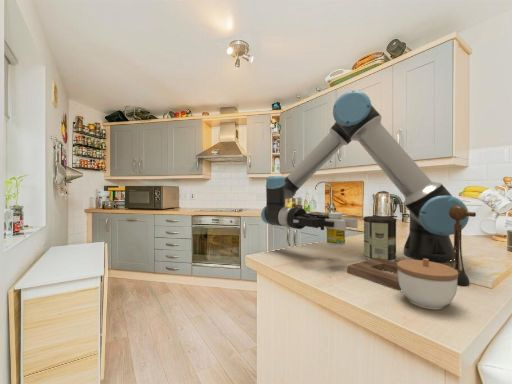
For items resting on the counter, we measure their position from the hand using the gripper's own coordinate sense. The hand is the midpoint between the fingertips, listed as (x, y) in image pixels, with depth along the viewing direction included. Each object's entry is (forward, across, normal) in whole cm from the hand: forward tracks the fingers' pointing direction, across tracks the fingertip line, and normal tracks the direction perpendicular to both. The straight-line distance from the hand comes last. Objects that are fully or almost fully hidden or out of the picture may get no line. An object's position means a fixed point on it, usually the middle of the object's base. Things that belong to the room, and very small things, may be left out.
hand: (350, 224), depth 71 cm
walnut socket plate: (+7, -6, -14) cm, 17 cm away
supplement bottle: (-5, 0, -7) cm, 9 cm away
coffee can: (-2, -21, -14) cm, 25 cm away
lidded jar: (+20, +4, -14) cm, 25 cm away
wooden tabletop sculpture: (+21, -15, -14) cm, 30 cm away
